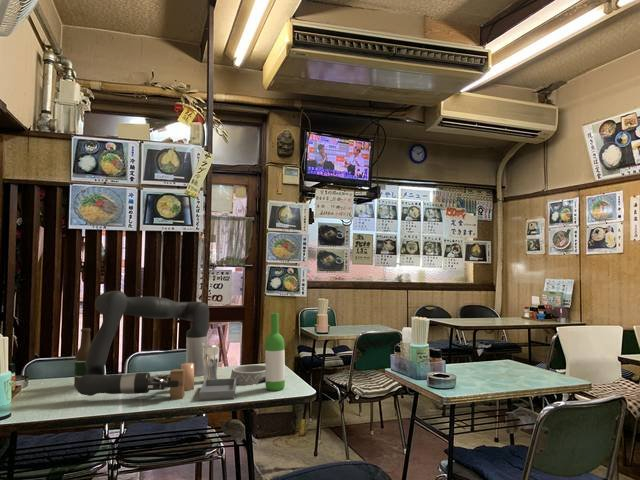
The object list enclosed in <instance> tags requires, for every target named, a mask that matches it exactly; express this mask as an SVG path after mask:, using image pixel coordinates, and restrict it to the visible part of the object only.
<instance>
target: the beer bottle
mask: <svg viewBox="0 0 640 480" xmlns="http://www.w3.org/2000/svg"><path fill="white" fill-rule="evenodd" d="M80 332H81V335H80V345H79V348H78V350H77V351H76V353H75V356H74V377H73V379H74V381H73V382H74V388H76V382H77V380H78V379H79V378H80V377H82V376H84V375H85V374H86V369H87V368H86V366H85V362H86V358H87V354H88V351H89V348H90V345H91V343H92V341H91V332H92V329H91V328H90V327H86V328H85V327H83V328H81V329H80Z"/></svg>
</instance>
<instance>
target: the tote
mask: <svg viewBox="0 0 640 480" xmlns="http://www.w3.org/2000/svg"><path fill="white" fill-rule="evenodd" d="M203 381H204V380H203ZM236 389H237V385H236V378H231V377H230V378H218V379H207V380H205V381H204V382H203V384H202V385H201V387H200V390H199V392H198V401H218V400H220V401H221V400H234V399H235V395H236V391H237V390H236Z"/></svg>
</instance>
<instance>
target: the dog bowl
mask: <svg viewBox="0 0 640 480" xmlns="http://www.w3.org/2000/svg"><path fill="white" fill-rule="evenodd" d="M230 378H236V384H238V385H239V386H254V385H253V384H257V385H258V384H259V383H261V382H264V381H266V380H265V365H264V364H246V365H245V364H244V365H238V366H235V367H233V368H232V370H231V373H230Z"/></svg>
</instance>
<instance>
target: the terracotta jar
mask: <svg viewBox="0 0 640 480" xmlns="http://www.w3.org/2000/svg"><path fill="white" fill-rule="evenodd" d="M180 369H185V380H184V392H189V391H193V390H194V389H195V376H194V363H186V362H185V363H181V367H180Z"/></svg>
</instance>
